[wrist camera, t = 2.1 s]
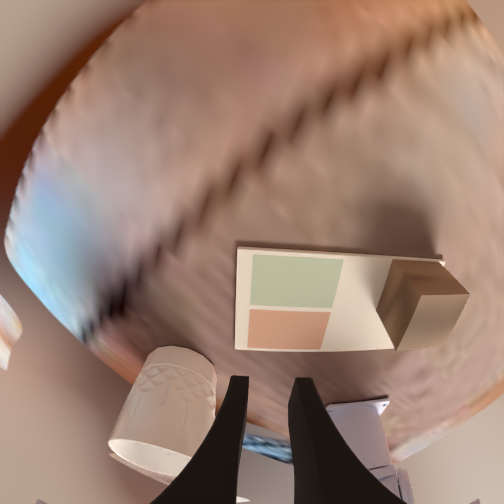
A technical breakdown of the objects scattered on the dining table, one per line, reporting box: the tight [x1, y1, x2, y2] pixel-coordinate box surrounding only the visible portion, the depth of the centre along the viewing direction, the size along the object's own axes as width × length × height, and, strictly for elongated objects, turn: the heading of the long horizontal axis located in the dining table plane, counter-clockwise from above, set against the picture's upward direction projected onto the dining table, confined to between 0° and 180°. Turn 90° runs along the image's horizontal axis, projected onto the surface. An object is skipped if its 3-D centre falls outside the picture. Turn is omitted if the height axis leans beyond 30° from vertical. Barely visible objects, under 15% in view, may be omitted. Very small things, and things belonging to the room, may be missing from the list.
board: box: [235, 246, 445, 352], centre depth 20 cm, size 9×16×1 cm, turn 87°
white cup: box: [108, 346, 217, 477], centre depth 19 cm, size 8×8×10 cm
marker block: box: [376, 259, 470, 351], centre depth 16 cm, size 4×4×4 cm
